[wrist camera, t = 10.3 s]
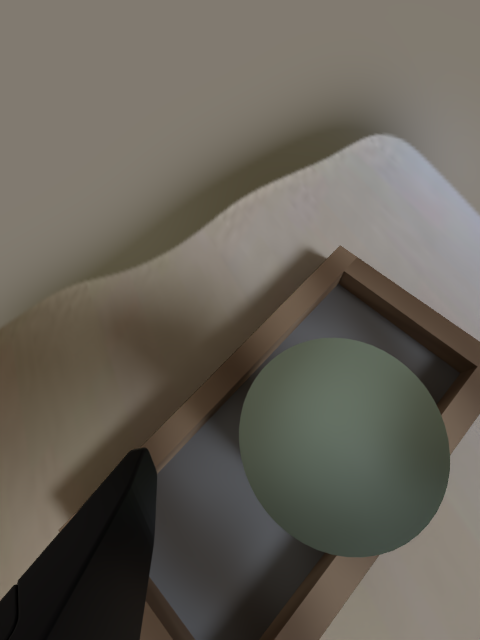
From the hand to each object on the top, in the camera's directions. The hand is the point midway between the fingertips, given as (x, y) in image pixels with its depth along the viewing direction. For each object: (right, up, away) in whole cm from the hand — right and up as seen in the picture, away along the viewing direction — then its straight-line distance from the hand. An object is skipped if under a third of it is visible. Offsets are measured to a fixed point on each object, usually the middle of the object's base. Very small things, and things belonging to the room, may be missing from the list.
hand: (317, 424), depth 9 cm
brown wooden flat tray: (+1, -4, +8) cm, 9 cm away
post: (+1, -4, +8) cm, 9 cm away
